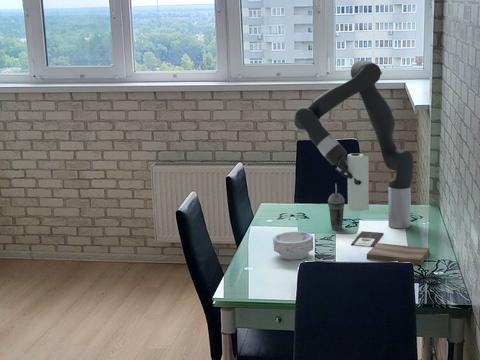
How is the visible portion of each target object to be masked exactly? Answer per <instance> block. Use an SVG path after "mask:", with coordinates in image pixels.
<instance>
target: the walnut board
mask: <svg viewBox="0 0 480 360" xmlns="http://www.w3.org/2000/svg"><path fill="white" fill-rule="evenodd" d="M430 252H431V251H430V247H419V246H413V245H412V246H410V245H401V244H392V243H390V244H389V243H383V242H382V243H381V242H377V243H376V245H375V246H374V247H371V249H370V250H368V252H367V253H366V260H373V261H380V262H389V261H398V262H411V263H413V264H412V265H416V266H421V265H422V264H423V263H424V261H425V260H426V259H427V257H428V256H429V255H430ZM398 262H397V263H398Z"/></svg>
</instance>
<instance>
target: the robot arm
mask: <svg viewBox="0 0 480 360" xmlns="http://www.w3.org/2000/svg"><path fill="white" fill-rule="evenodd" d="M350 68H351V69H350V76H351V79H349V80H347V81H346V82H343V83H341V84H339V85H337V86H334V87H332V88H330V89H328V90H326V91H324V92H323V93H321V95H319V96H318V97H316V98H315V99H314V100H313V101H312V102H311V104H310V105H309V106H307V107H305V106H302V107H299V108H298V109H297V110H296V111H295V115H294V120H293V123H294V126H295V127H296V128H297V129H298V130H299V131H300V130H301V131H305V132H307V134H308V137H309V139H310V141H311V142H312V143H313V144H314V146H315V147H316V148H317V149H318V150H319V152H320V153H321V155H322V156H323V157H324V158H325V159H326V161H327V162H329V163H330V165H331V166H334V165H336V168H335V171H336V172H337V173H338V174H339V175H341V176H342V177H343V178H345V179H346V180H348V178H349V179H352V178H353V176H352V174H351V173H350V172H349V168H348V164H347V156H346V155H347V153H348V151H347V150H346V149H345V148H344V147H343V146H342V145H341V143H340V142H338V139H336V138H335V137H334V136H333V135H331V133H329V131H328V130H327V129H326V128H325V127H324V126H323V125H322V123H321V121H320V119H321V118H322V117H323V116H324V115H326V114H328V113H329V112H330V111H332V110H334V108H336V107H337V106H338V105H340V104H341V103H342V102H345V101H346V100H348V99H350V98H351V97H353V96H354V95H357V94H358V93H359V95H360V97H361V99H362V102H363V105H364V107H365V110H366V112H367V115H368V118H369V121H370V124H371V127H372V129H373V131H374V133H375V136H376V138H377V142H378V145H379V149H380V151H381V156H382V159H383V163H384V165H385V166H386V168H387V169H388V170H392V171H396V173H395V174H396V176H395V177H393V178H390V179H389V180H388V227H390V228H393V229H407V228H410V227H411V222H412V221H411V219H412V217H411V216H412V214H411V213H412V211H411V209H412V208H411V207H412V206H411V205H412V204H411V203H412V201H411V200H412V199H411V197H412V195H411V193H412V192H411V189H412V188H411V184H412V181H413V175H414V156H413V153H412V152H411V151H410V150H407V149H401V148H400V149H399V148H397V146H396V144H395V141H394V138H393V136H394V135H393V134H394V131H395V126H396V124H395V123H396V122H395V117H394V115H393V111H392V109H391V106H390V105H389V104H388V102H387V101H386V99H385V98H384V97H383V96H382V94H381V93H380V92H379V90H378V89H377V86H376V85H375V84H376V83H378V81H380V78H381V75H382V71H381V68H380V66H379V65H378V64H376V63H374V62H371V61H366V60H357V61H355V62H354V63H353V64H352V65H351V67H350ZM354 180H355V181H354V183H355V184H356V185H357V184H358V186H359V185H360V184H361V183H362V182H361V181H360V180H357V179H355V178H354ZM356 182H357V183H356Z"/></svg>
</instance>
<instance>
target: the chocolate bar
mask: <svg viewBox="0 0 480 360" xmlns="http://www.w3.org/2000/svg"><path fill="white" fill-rule="evenodd" d="M383 235H384V232H377V231H362V230H361V231H360V233H359V234H358V235H357V237H356V238H355V239H354V240H353V241H352V243H351V244H350V246H353V245H355V246H356V247H365V246H367V248H373V247H374V246H375V245H376V244H377V243H379V241H380V239H381V238H383V237H382V236H383ZM355 246H354V247H355Z"/></svg>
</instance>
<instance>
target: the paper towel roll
mask: <svg viewBox="0 0 480 360" xmlns="http://www.w3.org/2000/svg"><path fill="white" fill-rule="evenodd" d="M346 155H347V156H346V157H347V164H348V168H349V172H350V173H351V174H352V176H353V178H352V179H349V178H348V179H347V209H348V211H352V212H361V211H369V210H370V208H369V207H370V205H369V204H370V202H369V198H370V197H369V196H370V195H369V192H370V191H369V190H370V189H369V186H370V185H369V183H370V182H369V178H370V177H369V174H370V172H369V168H370V167H369V165H370V164H369V161H370V160H369V155H364V154H363V153H349V154H346ZM354 178H355V179H357V180H360V181H361V182H362V183H361V184H360V185H359V186H358V184H357V185H356V184H355V183H354V181H355V180H354ZM356 183H357V182H356Z"/></svg>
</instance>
